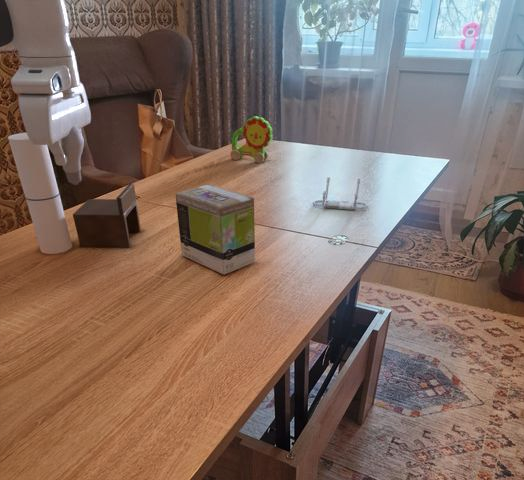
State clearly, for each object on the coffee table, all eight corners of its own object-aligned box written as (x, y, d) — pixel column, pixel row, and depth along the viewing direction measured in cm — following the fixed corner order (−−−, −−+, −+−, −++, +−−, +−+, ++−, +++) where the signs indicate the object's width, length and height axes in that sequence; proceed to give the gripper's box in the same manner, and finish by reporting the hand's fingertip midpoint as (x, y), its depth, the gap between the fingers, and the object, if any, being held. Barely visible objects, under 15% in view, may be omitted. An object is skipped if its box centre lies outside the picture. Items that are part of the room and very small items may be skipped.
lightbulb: (97, 181, 95) (86, 120, 89) (81, 190, 90) (68, 127, 84) (70, 178, 96) (57, 118, 90) (52, 187, 91) (37, 125, 85)
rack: (80, 246, 116) (68, 197, 109) (95, 229, 125) (85, 182, 118) (129, 247, 115) (120, 197, 108) (141, 230, 124) (133, 183, 117)
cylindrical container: (38, 255, 112) (4, 140, 97) (43, 243, 117) (11, 133, 103) (70, 252, 113) (41, 138, 98) (73, 240, 119) (46, 131, 104)
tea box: (256, 262, 108) (256, 196, 100) (223, 276, 102) (219, 208, 94) (213, 243, 117) (209, 181, 108) (180, 256, 111) (173, 191, 103)
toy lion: (230, 160, 181) (228, 115, 172) (236, 156, 185) (235, 113, 176) (268, 164, 176) (268, 119, 167) (274, 161, 180) (274, 116, 171)
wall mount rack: (311, 210, 136) (312, 189, 133) (316, 195, 147) (317, 175, 143) (366, 213, 133) (369, 192, 130) (368, 198, 144) (370, 178, 141)
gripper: (58, 68, 91) (74, 146, 99) (5, 82, 74) (29, 174, 82) (91, 69, 91) (104, 146, 99) (44, 83, 74) (65, 175, 82)
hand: (70, 159), depth 90 cm, fingers closed on lightbulb, 6 cm apart
